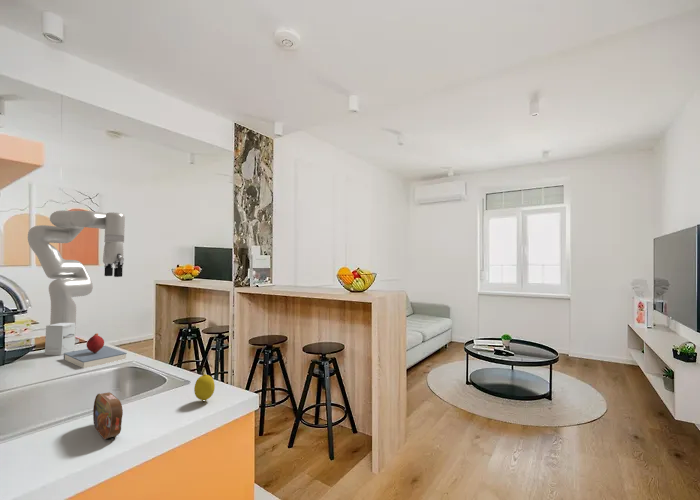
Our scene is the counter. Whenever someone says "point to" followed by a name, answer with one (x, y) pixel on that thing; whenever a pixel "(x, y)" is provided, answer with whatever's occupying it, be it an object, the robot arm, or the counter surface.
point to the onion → (95, 343)
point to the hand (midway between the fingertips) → (113, 276)
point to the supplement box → (60, 338)
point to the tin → (107, 415)
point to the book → (94, 357)
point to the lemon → (204, 387)
